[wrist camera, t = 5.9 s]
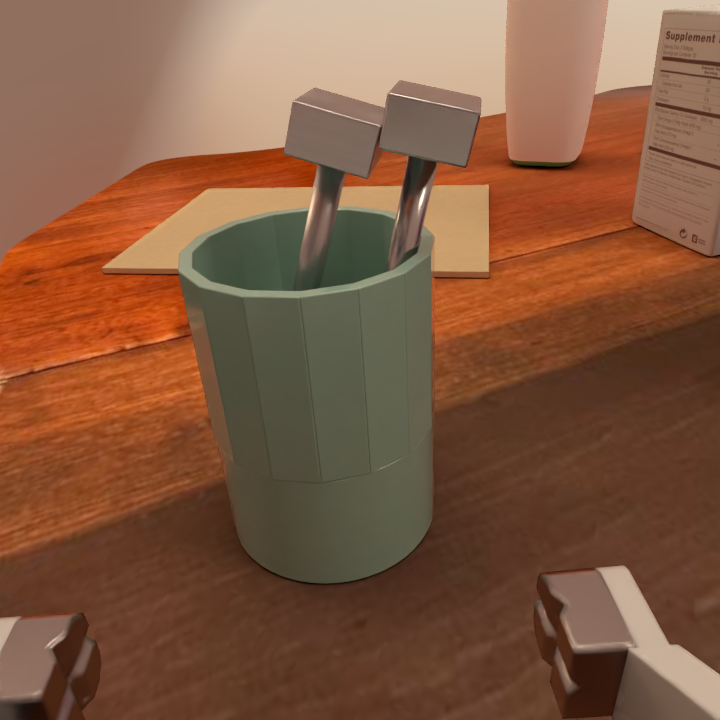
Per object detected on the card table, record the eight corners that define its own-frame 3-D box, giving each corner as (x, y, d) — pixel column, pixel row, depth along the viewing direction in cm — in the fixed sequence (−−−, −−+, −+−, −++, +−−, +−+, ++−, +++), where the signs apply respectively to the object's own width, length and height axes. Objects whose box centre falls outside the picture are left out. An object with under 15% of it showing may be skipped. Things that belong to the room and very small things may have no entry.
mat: (102, 273, 40) (101, 267, 40) (208, 193, 56) (207, 188, 55) (488, 278, 36) (489, 271, 36) (488, 189, 51) (488, 184, 51)
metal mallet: (327, 423, 18) (387, 92, 13) (341, 385, 20) (399, 79, 15) (396, 440, 18) (481, 112, 13) (404, 400, 20) (482, 97, 15)
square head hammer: (238, 416, 18) (292, 99, 14) (259, 380, 20) (314, 87, 15) (304, 436, 18) (381, 125, 14) (319, 398, 20) (393, 110, 15)
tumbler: (204, 573, 19) (130, 294, 14) (268, 438, 24) (230, 206, 20) (425, 595, 18) (421, 299, 13) (440, 448, 23) (441, 205, 19)
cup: (580, 173, 54) (603, -33, 46) (494, 169, 57) (504, -26, 49) (592, 153, 60) (614, -33, 52) (514, 150, 62) (524, -27, 55)
